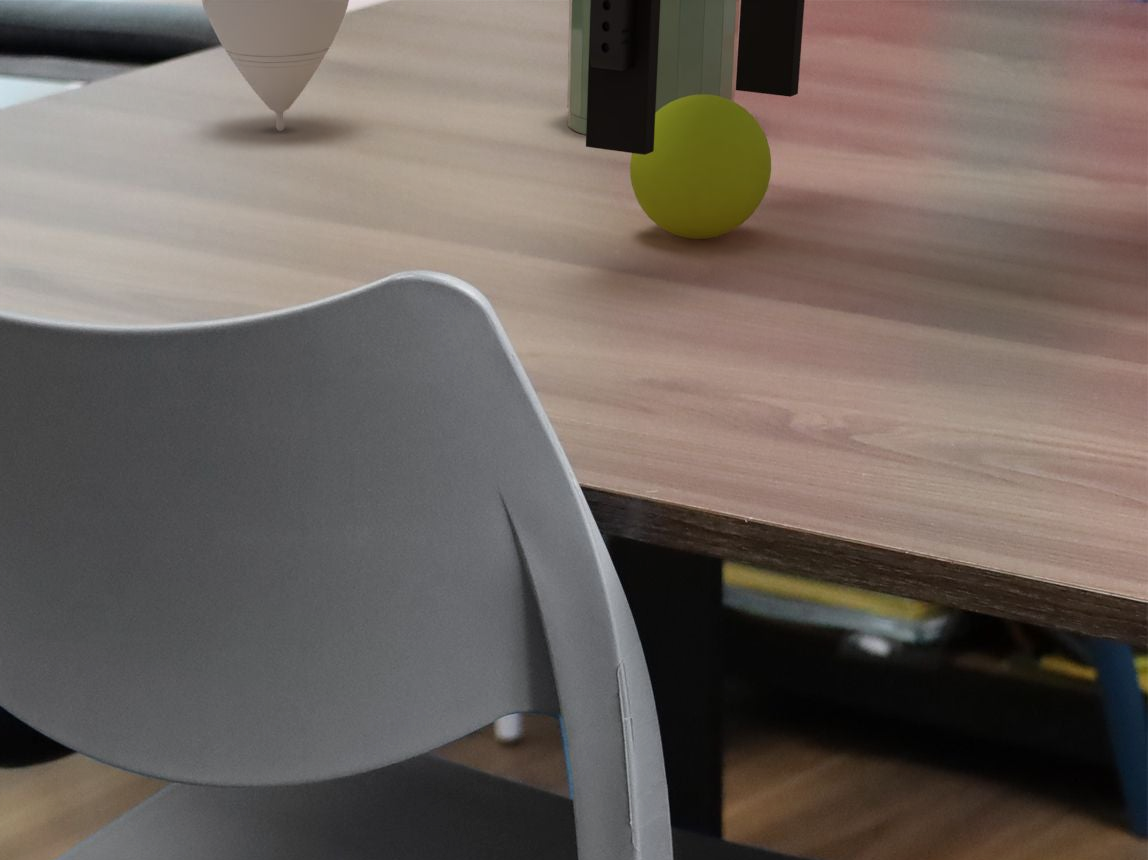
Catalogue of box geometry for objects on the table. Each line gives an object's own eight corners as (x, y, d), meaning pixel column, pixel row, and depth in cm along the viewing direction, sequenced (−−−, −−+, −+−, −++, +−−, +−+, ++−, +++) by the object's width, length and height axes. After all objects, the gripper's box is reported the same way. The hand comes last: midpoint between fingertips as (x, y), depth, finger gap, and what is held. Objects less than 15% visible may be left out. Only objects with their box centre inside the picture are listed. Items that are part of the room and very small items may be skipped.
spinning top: (197, 120, 125) (186, -118, 120) (338, 112, 127) (332, -123, 121) (218, 149, 119) (206, -101, 113) (366, 141, 120) (361, -107, 115)
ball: (790, 230, 102) (798, 90, 100) (728, 261, 98) (736, 115, 95) (668, 214, 105) (673, 77, 103) (602, 242, 101) (606, 100, 98)
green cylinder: (760, 118, 124) (772, -102, 119) (685, 148, 117) (694, -83, 113) (617, 102, 128) (623, -110, 123) (537, 130, 122) (540, -93, 117)
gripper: (778, -441, 101) (746, 63, 111) (472, -441, 82) (466, 164, 92) (942, -442, 97) (895, 80, 107) (661, -442, 79) (634, 189, 88)
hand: (696, 120), depth 99 cm, fingers open, 13 cm apart
